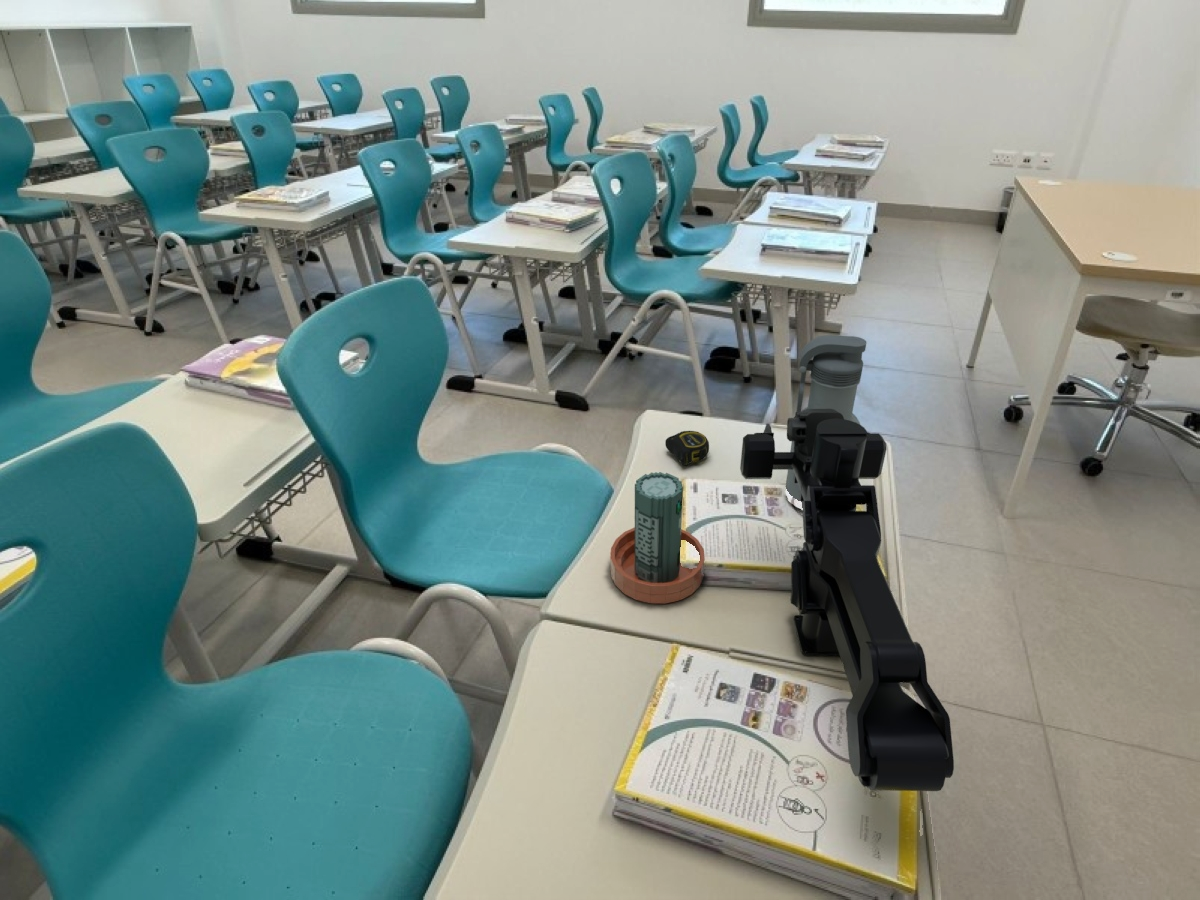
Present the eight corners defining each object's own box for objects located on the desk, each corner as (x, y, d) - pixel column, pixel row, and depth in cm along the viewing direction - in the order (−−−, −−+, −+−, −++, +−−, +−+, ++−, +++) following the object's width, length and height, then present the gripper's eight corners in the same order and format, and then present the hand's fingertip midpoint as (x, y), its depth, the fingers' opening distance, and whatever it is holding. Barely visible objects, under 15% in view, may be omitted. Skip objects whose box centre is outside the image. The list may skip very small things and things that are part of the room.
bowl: (706, 605, 98) (708, 586, 96) (609, 604, 98) (609, 585, 96) (699, 543, 109) (700, 524, 107) (612, 542, 109) (611, 523, 108)
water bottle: (779, 512, 115) (801, 351, 100) (783, 478, 123) (804, 324, 108) (846, 521, 112) (879, 357, 97) (846, 486, 120) (876, 329, 105)
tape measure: (663, 451, 131) (663, 433, 129) (697, 443, 133) (698, 425, 131) (680, 470, 125) (681, 452, 123) (715, 462, 127) (716, 444, 125)
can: (686, 568, 104) (691, 483, 96) (660, 591, 100) (663, 504, 92) (653, 551, 107) (654, 467, 99) (627, 572, 103) (626, 487, 95)
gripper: (911, 433, 87) (873, 375, 100) (755, 433, 88) (739, 376, 101) (893, 507, 93) (860, 443, 106) (748, 507, 94) (733, 444, 107)
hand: (799, 426), depth 105 cm, fingers open, 9 cm apart
